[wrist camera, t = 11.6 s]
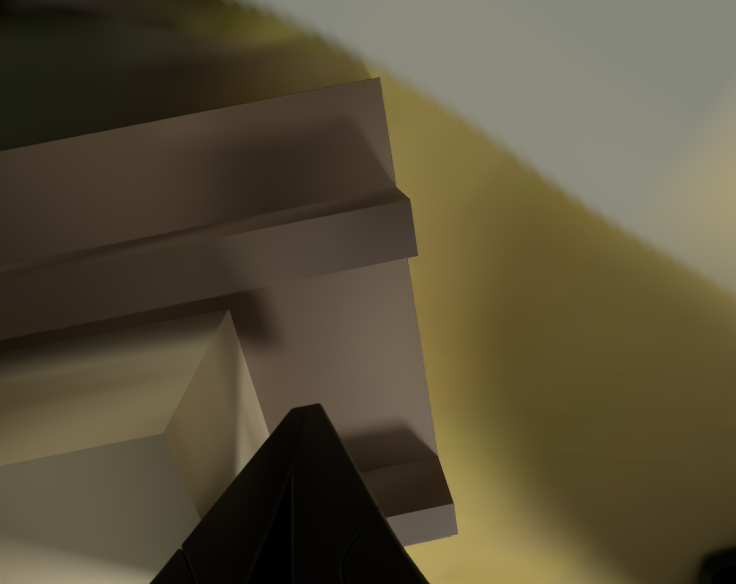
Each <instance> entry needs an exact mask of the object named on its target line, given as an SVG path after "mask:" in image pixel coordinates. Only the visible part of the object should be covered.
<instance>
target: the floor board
mask: <svg viewBox="0 0 736 584" xmlns="http://www.w3.org/2000/svg"><path fill="white" fill-rule="evenodd" d="M414 256H418V252H417V245H416V238H415V231H414V224H413V217H412V210H411V203H410V199H409V198H408V197H407V196H406V195H405V194H403V193H402V192H401V191H400V190H399V189H398V188H397V187H396V181H395V175H394V168H393V162H392V155H391V149H390V142H389V136H388V129H387V123H386V116H385V110H384V103H383V97H382V90H381V84H380V77H379V78H374V79H368V80H363V81H358V82H353V83H348V84H343V85H338V86H332V87H327V88H322V89H317V90H312V91H307V92H302V93H297V94H291V95H286V96H281V97H276V98H271V99H266V100H261V101H256V102H250V103H245V104H240V105H235V106H230V107H225V108H220V109H215V110H209V111H204V112H199V113H194V114H189V115H184V116H179V117H173V118H168V119H163V120H158V121H153V122H148V123H143V124H138V125H132V126H127V127H122V128H117V129H112V130H107V131H102V132H97V133H91V134H86V135H81V136H76V137H71V138H66V139H61V140H56V141H50V142H45V143H40V144H35V145H30V146H25V147H20V148H14V149H9V150H4V151H0V352H6V351H11V350H16V349H21V348H26V347H32V346H37V345H42V344H47V343H52V342H58V341H63V340H68V339H73V338H78V337H84V336H89V335H94V334H99V333H104V332H110V331H115V330H120V329H125V328H130V327H136V326H141V325H146V324H151V323H156V322H162V321H167V320H172V319H177V318H182V317H188V316H193V315H198V314H203V313H209V312H214V311H219V310H224V309H229V311H230V314H231V317H232V320H233V324H234V327H235V330H236V333H237V336H238V339H239V342H240V345H241V348H242V352H243V355H244V358H245V361H246V364H247V367H248V370H249V373H250V376H251V380H252V383H253V386H254V389H255V392H256V395H257V398H258V401H259V404H260V408H261V411H262V414H263V417H264V420H265V423H266V426H267V429H268V432H269V436H270V434H271V433H272V432H273V431H274V429H275V428H276V427H277V426H278V424H279V423H280V422H281V421H282V419H283V418H284V417H285V416H286V415H287V413H288V412H289V411H290V410H291V409H292V408H295V407H300V406H305V405H310V404H315V403H320V404H321V405H322V406H323V408H324V410H325V411H326V413H327V415H328V417H329V419H330V420H331V422H332V424H333V426H334V427H335V429H336V431H337V433H338V435H339V436H340V438H341V440H342V442H343V443H344V445H345V447H346V449H347V450H348V452H349V454H350V456H351V458H352V459H353V461H354V463H355V465H356V466H357V468H358V470H359V472H360V474H361V475H362V477H363V479H364V481H365V482H366V484H367V486H368V488H369V490H370V491H371V493H372V495H373V497H374V498H375V500H376V502H377V504H378V505H379V507H380V510H381V511H382V512H383V514H384V516H385V517H386V519H387V521H388V523H389V524H390V526H391V528H392V530H393V531H394V533H395V534H396V536H397V538H398V539H399V541H400V542H401V544H402V546H403V547H404V546H409V545H413V544H418V543H423V542H427V541H432V540H437V539H441V538H446V537H450V536H451V535H456V534H458V530H457V523H456V516H455V509H454V503H453V500H452V497H451V494H450V491H449V488H448V485H447V482H446V479H445V476H444V473H443V470H442V467H441V464H440V461H439V458H438V454H437V448H436V441H435V435H434V428H433V422H432V415H431V409H430V402H429V396H428V389H427V383H426V376H425V370H424V363H423V357H422V350H421V344H420V337H419V331H418V324H417V318H416V311H415V305H414V298H413V292H412V285H411V279H410V272H409V266H408V259H407V258H409V257H414Z"/></svg>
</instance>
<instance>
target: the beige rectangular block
mask: <svg viewBox="0 0 736 584" xmlns="http://www.w3.org/2000/svg"><path fill="white" fill-rule="evenodd" d="M268 437H269V432H268V429H267V426H266V423H265V420H264V417H263V414H262V411H261V408H260V404H259V401H258V398H257V395H256V392H255V389H254V386H253V383H252V380H251V376H250V373H249V370H248V367H247V364H246V361H245V358H244V355H243V352H242V348H241V345H240V342H239V339H238V336H237V333H236V330H235V327H234V324H233V320H232V317H231V314H230V311H229V309H224V310H219V311H214V312H209V313H203V314H198V315H193V316H188V317H182V318H177V319H172V320H167V321H162V322H156V323H151V324H146V325H141V326H136V327H130V328H125V329H120V330H115V331H110V332H104V333H99V334H94V335H89V336H84V337H78V338H73V339H68V340H63V341H58V342H52V343H47V344H42V345H37V346H32V347H26V348H21V349H16V350H11V351H6V352H0V584H149V583H150V582H151V581H152V580H153V579H154V577H155V576H156V575H157V574H158V573H159V571H160V570H161V569H162V568H163V567H164V565H165V564H166V563H167V562H168V560H169V559H170V558H171V557H172V555H173V554H174V553H175V552H176V550H177V549H182V548H181V545H182V543H183V542H184V541H185V540H186V538H187V537H188V536H189V535H190V533H191V532H192V531H193V530H194V528H195V527H196V526H197V525H198V523H199V522H200V521H201V520H202V519H203V517H204V516H205V515H206V514H207V512H208V511H209V510H210V509H211V507H212V506H213V505H214V504H215V502H216V501H217V500H218V499H219V497H220V496H221V495H222V494H223V493H224V491H225V490H226V489H227V488H228V486H229V485H230V484H231V483H232V481H233V480H234V479H235V478H236V476H237V475H238V474H239V473H240V471H241V470H242V469H243V468H244V467H245V465H246V464H247V463H248V462H249V460H250V459H251V458H252V457H253V455H254V454H255V453H256V452H257V450H258V449H259V448H260V447H261V445H262V444H263V443H264V442H265V441H266V439H267V438H268Z"/></svg>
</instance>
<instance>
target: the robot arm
mask: <svg viewBox="0 0 736 584" xmlns="http://www.w3.org/2000/svg"><path fill="white" fill-rule="evenodd" d="M181 548H182V549H177V550H176V552H175V553H174V554H173V555H172V557H171V558H170V559H169V560H168V562H167V563H166V564H165V565H164V567H163V568H162V569H161V570H160V571H159V573H158V574H157V575H156V576H155V577H154V579H153V580H152V581H151V582H150V583H149V584H430V583H429V582H428V581H427V579H426V578H425V577H424V575H423V574H422V573H421V571H420V570H419V568H418V567H417V566H416V564H415V563H414V562H413V560H412V559H411V557H410V556H409V555H408V553H407V552H406V550H405V549H404V547H403V546H402V544H401V542H400V541H399V539H398V538H397V536H396V534H395V533H394V531H393V530H392V528H391V526H390V524H389V523H388V521H387V519H386V517H385V516H384V514H383V512H382V511H381V510H380V507H379V505H378V504H377V502H376V500H375V498H374V497H373V495H372V493H371V491H370V490H369V488H368V486H367V484H366V482H365V481H364V479H363V477H362V475H361V474H360V472H359V470H358V468H357V466H356V465H355V463H354V461H353V459H352V458H351V456H350V454H349V452H348V450H347V449H346V447H345V445H344V443H343V442H342V440H341V438H340V436H339V435H338V433H337V431H336V429H335V427H334V426H333V424H332V422H331V420H330V419H329V417H328V415H327V413H326V411H325V410H324V408H323V406H322V405H321V404H320V403H315V404H310V405H305V406H300V407H295V408H292V409H291V410H290V411H289V412H288V413H287V415H286V416H285V417H284V418H283V419H282V421H281V422H280V423H279V424H278V426H277V427H276V428H275V429H274V431H273V432H272V433H271V434H270V436H269V437H268V438H267V439H266V441H265V442H264V443H263V444H262V445H261V447H260V448H259V449H258V450H257V452H256V453H255V454H254V455H253V457H252V458H251V459H250V460H249V462H248V463H247V464H246V465H245V467H244V468H243V469H242V470H241V471H240V473H239V474H238V475H237V476H236V478H235V479H234V480H233V481H232V483H231V484H230V485H229V486H228V488H227V489H226V490H225V491H224V493H223V494H222V495H221V496H220V497H219V499H218V500H217V501H216V502H215V504H214V505H213V506H212V507H211V509H210V510H209V511H208V512H207V514H206V515H205V516H204V517H203V519H202V520H201V521H200V522H199V523H198V525H197V526H196V527H195V528H194V530H193V531H192V532H191V533H190V535H189V536H188V537H187V538H186V540H185V541H184V542H183V543H182V545H181ZM700 584H736V552H733V553H728V554H724V555H719V556H716V557H713V558H711V559H709V560H708V561H707V562H706V563H705V564H704V566H703V568H702V573H701V579H700Z"/></svg>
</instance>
